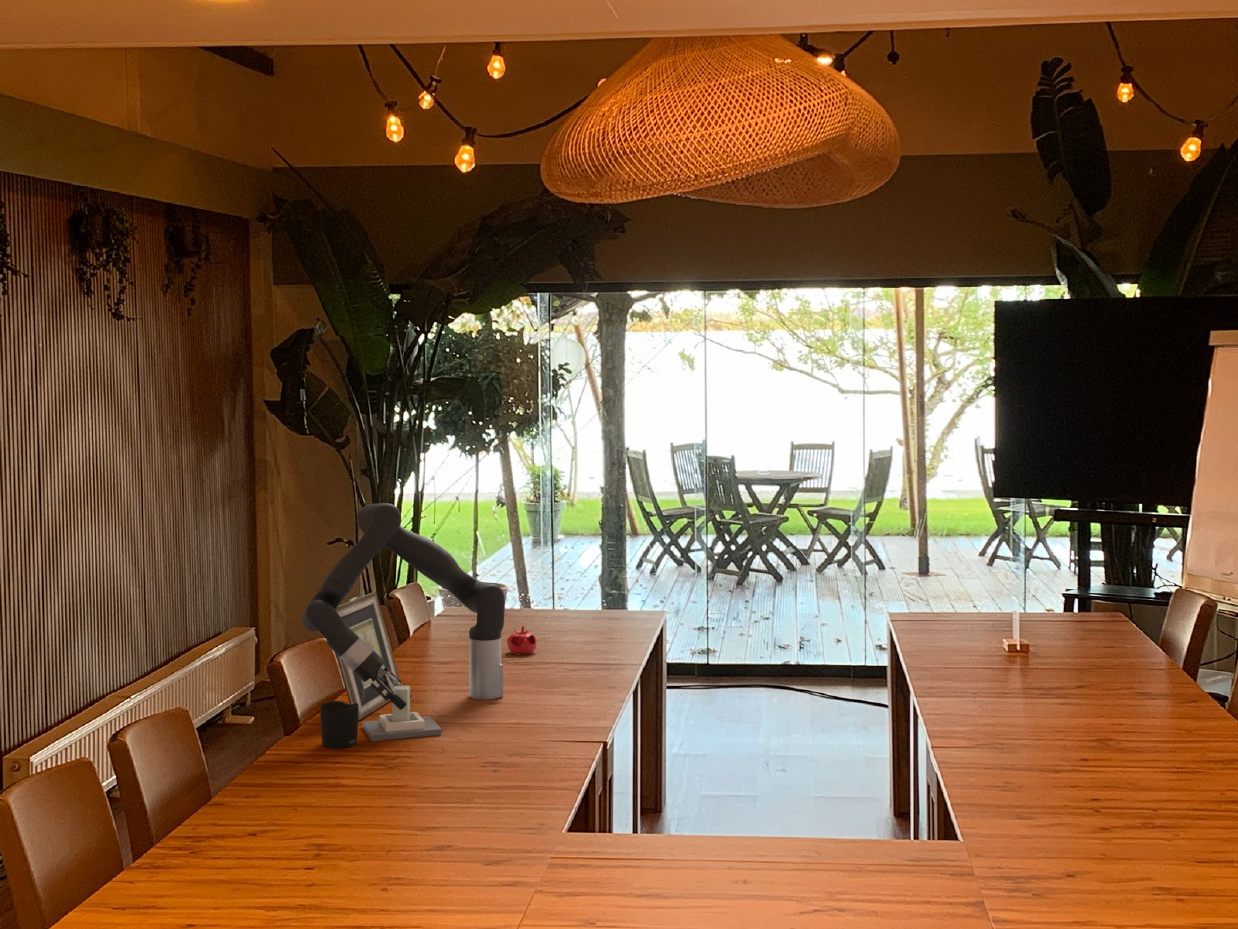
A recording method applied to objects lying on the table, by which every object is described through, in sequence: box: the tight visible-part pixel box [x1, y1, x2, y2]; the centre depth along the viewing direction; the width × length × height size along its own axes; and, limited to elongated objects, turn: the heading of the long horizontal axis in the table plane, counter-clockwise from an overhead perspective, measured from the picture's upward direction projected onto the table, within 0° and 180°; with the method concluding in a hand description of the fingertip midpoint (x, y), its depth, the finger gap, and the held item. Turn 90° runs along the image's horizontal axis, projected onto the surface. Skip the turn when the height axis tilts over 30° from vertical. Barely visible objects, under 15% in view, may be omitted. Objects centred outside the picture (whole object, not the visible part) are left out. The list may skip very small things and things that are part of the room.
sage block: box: [391, 685, 411, 722], centre depth 330 cm, size 4×4×10 cm
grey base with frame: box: [362, 711, 443, 742], centre depth 330 cm, size 18×14×4 cm
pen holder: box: [319, 700, 359, 750], centre depth 317 cm, size 9×9×10 cm
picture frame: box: [335, 591, 401, 722], centre depth 355 cm, size 33×10×30 cm, turn 168°
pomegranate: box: [506, 625, 537, 656], centre depth 429 cm, size 10×10×9 cm
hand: (406, 703), depth 330 cm, fingers open, 8 cm apart
